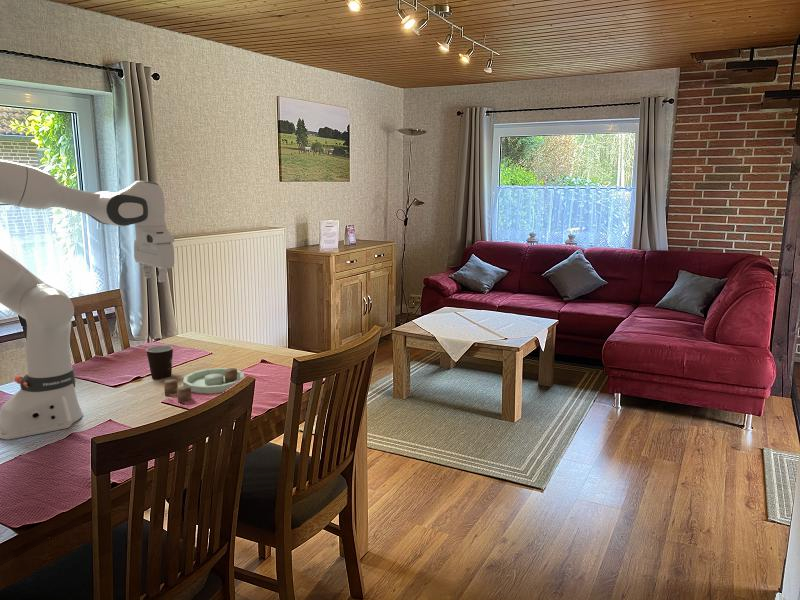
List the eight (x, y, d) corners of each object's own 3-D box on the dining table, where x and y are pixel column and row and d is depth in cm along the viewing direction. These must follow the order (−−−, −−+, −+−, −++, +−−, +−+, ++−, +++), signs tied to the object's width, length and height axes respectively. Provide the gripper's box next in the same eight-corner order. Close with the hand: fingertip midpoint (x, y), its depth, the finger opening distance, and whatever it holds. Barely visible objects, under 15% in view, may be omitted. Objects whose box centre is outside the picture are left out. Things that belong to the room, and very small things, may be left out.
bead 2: (182, 405, 191) (181, 391, 190) (175, 402, 194) (174, 388, 193) (194, 402, 194) (193, 388, 193) (188, 398, 197) (187, 385, 196)
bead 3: (229, 385, 206) (228, 372, 205) (222, 382, 208) (222, 370, 208) (239, 383, 209) (239, 370, 208) (233, 380, 211) (232, 367, 210)
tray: (202, 400, 195) (201, 391, 194) (172, 385, 209) (172, 376, 208) (256, 385, 209) (255, 376, 208) (225, 372, 222) (225, 363, 222)
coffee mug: (166, 381, 212) (164, 353, 210) (143, 379, 214) (140, 351, 212) (184, 370, 224) (182, 343, 222) (162, 369, 225) (160, 342, 223)
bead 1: (168, 397, 197) (167, 384, 197) (162, 394, 200) (161, 381, 199) (180, 394, 200) (179, 381, 199) (174, 391, 203) (173, 378, 202)
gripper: (126, 233, 195) (130, 276, 198) (156, 238, 182) (159, 285, 184) (146, 231, 200) (150, 274, 203) (177, 237, 186) (180, 282, 189)
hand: (155, 279), depth 193 cm, fingers open, 8 cm apart
